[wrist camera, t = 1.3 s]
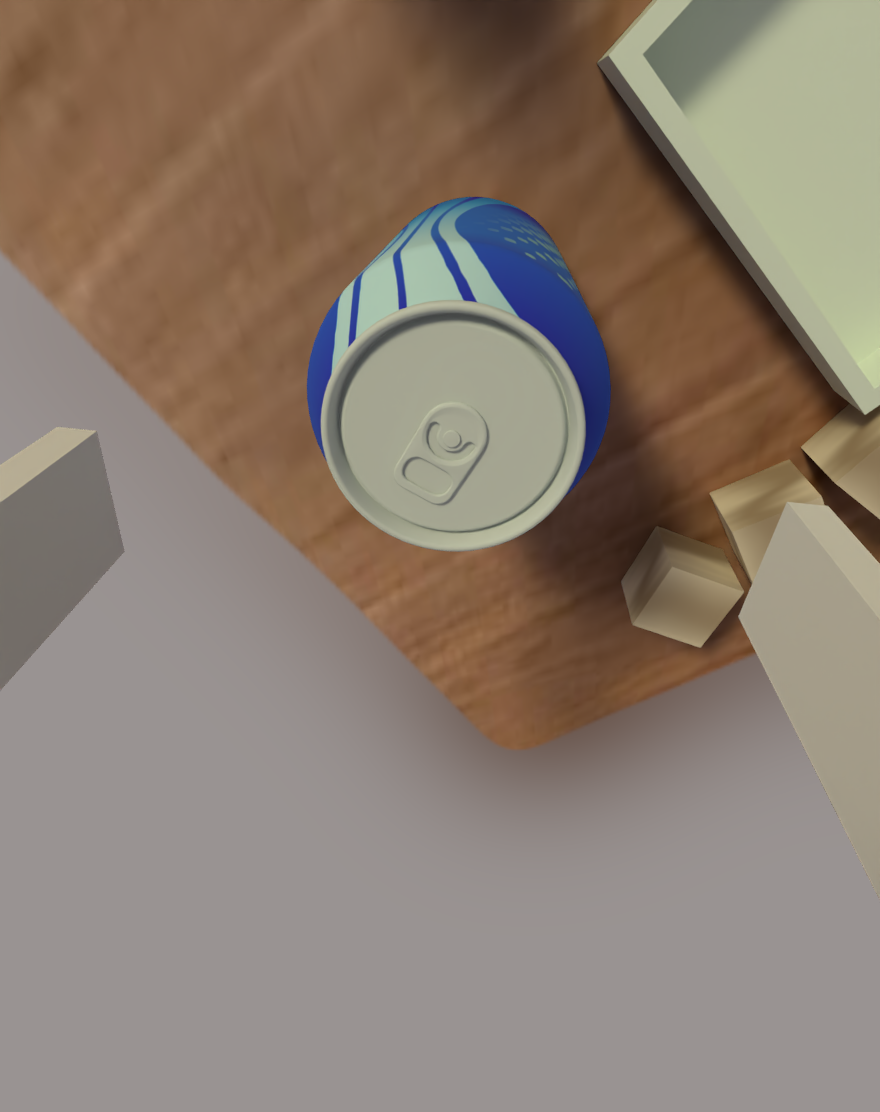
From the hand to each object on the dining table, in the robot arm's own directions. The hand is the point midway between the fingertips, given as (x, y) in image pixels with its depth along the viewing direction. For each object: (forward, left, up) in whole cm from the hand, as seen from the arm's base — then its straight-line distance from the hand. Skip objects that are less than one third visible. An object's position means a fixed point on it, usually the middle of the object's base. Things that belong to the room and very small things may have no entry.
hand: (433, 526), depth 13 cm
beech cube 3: (+2, +18, -20) cm, 27 cm away
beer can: (0, 0, -20) cm, 20 cm away
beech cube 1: (-9, +18, -20) cm, 29 cm away
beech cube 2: (-4, +18, -20) cm, 27 cm away
